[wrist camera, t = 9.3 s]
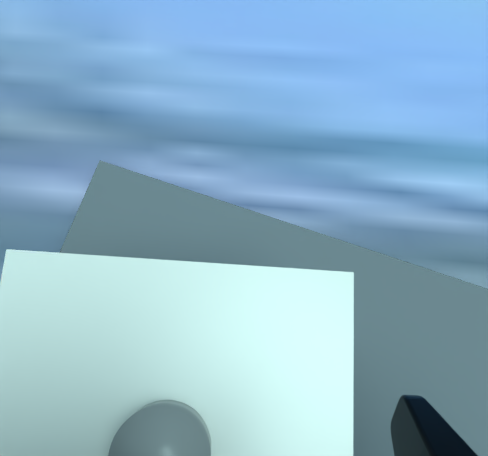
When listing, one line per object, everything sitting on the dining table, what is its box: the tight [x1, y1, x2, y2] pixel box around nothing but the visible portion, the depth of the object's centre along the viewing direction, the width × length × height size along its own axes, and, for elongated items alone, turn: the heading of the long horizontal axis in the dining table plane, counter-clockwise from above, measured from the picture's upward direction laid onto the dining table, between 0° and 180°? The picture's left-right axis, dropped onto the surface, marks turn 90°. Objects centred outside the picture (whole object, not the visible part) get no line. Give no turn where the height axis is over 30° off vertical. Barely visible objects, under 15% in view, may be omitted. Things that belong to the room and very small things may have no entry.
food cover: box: [0, 249, 354, 456], centre depth 12 cm, size 7×7×10 cm
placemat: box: [60, 161, 488, 456], centre depth 17 cm, size 22×14×1 cm, turn 72°
